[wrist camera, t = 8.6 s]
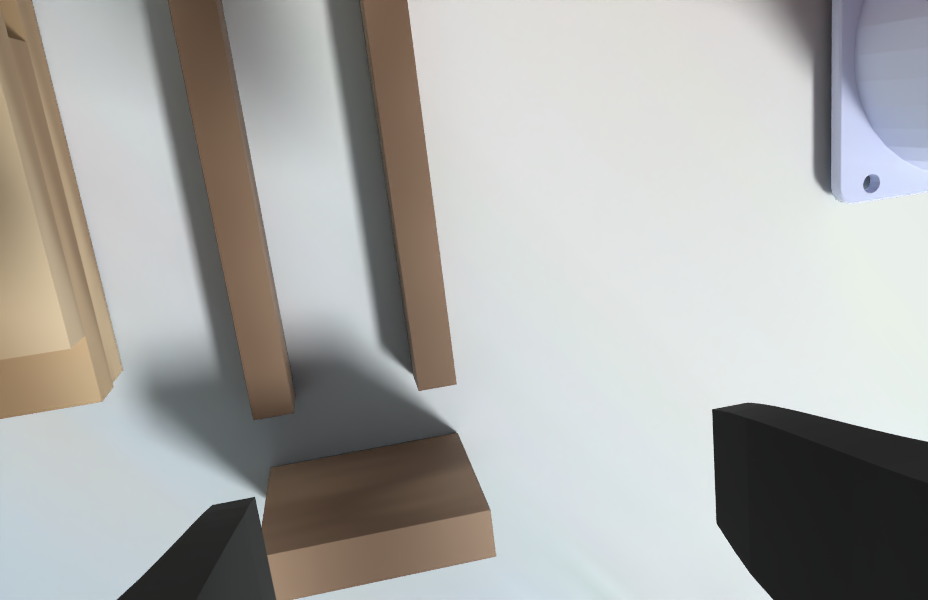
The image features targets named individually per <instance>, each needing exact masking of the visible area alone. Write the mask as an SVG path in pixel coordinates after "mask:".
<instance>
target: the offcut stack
mask: <svg viewBox="0 0 928 600" xmlns="http://www.w3.org/2000/svg"><path fill="white" fill-rule="evenodd" d="M122 371H123V368H122V364H121V360H120V356H119V352H118V348H117V344H116V340H115V336H114V332H113V328H112V324H111V319H110V315H109V311H108V307H107V303H106V299H105V295H104V291H103V287H102V283H101V279H100V275H99V271H98V267H97V263H96V259H95V255H94V251H93V246H92V242H91V238H90V234H89V230H88V226H87V222H86V218H85V214H84V210H83V206H82V202H81V198H80V194H79V190H78V186H77V182H76V177H75V173H74V169H73V165H72V161H71V157H70V153H69V149H68V145H67V141H66V137H65V133H64V129H63V125H62V121H61V117H60V113H59V109H58V104H57V100H56V96H55V92H54V88H53V84H52V80H51V76H50V72H49V68H48V64H47V60H46V56H45V52H44V48H43V44H42V40H41V36H40V31H39V27H38V23H37V19H36V15H35V11H34V7H33V3H32V0H0V419H3V418H9V417H15V416H21V415H27V414H33V413H38V412H44V411H50V410H56V409H62V408H68V407H74V406H80V405H86V404H92V403H98V402H102V401H103V400H104V399H105V397H106V396H107V395H108V393H109V392H110V391H111V390H112V388H113V382H114V381H115V379H116V378H117V377H118V376H119V374H120V373H121V372H122Z"/></svg>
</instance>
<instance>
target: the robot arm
mask: <svg viewBox="0 0 928 600" xmlns="http://www.w3.org/2000/svg"><path fill="white" fill-rule="evenodd" d="M867 176H869V177H870V185H869V187H868V188H867V189H866V190H864V188H863V183H864V180H865V178H866V177H867ZM831 189H832V194H833V196H834V197H835V199H836V200H838V201H840V202H843V203H851V204H855V203H862V202H868V201H875V200H881V199H888V198H894V197H901V196H907V195H914V194H920V193H927V192H928V0H832V110H831ZM712 415H713V442H714V468H715V495H716V521H717V525H718V526H719V528H720V529H721V531H722V533H723V534H724V536H725V537H726V539H727V540H728V542H729V543H730V545H731V546H732V548H733V550H734V551H735V552H736V554H737V555H738V557H739V558H740V560H741V561H742V562H743V564H744V565H745V567H746V568H747V570H748V571H749V572H750V574H751V575H752V576H753V577H754V578H755V579H756V581H757V582H758V583H759V584H760V585H761V586H762V588H763V589H764V590H765V591H766V592H767V593H768V594H769V595H770V596H771V598H772V599H773V600H928V442H926V441H921V440H916V439H911V438H907V437H902V436H898V435H894V434H889V433H885V432H881V431H876V430H872V429H868V428H864V427H860V426H856V425H852V424H848V423H844V422H840V421H836V420H832V419H827V418H823V417H819V416H815V415H811V414H807V413H803V412H799V411H794V410H790V409H785V408H781V407H776V406H770V405H764V404H756V403H743V404H738V405H733V406H728V407H723V408H717V409H712ZM117 600H276V596H275V591H274V586H273V581H272V577H271V572H270V567H269V562H268V557H267V553H266V548H265V543H264V538H263V533H262V529H261V524H260V519H259V514H258V510H257V505H256V500H255V497H252V498H247V499H242V500H237V501H231V502H226V503H221V504H216V505H212V506H211V507H210V508H209V509H207V510H206V511H205V512H204V513H203V514H202V515H201V516H200V517H199V518H198V519H197V520H196V521H195V522H194V523H193V524H192V525H191V526H190V527H189V529H188V530H187V531H186V532H185V533H184V534H183V535H182V536H181V537H180V538H179V539H178V540H177V541H176V542H175V543H174V544H173V545H172V546H171V547H170V548H169V549H168V550H167V551H166V552H165V553H164V555H163V556H162V557H161V558H160V559H159V560H158V561H157V562H156V563H155V564H154V565H153V566H152V567H151V568H150V569H149V570H148V571H147V572H146V573H145V574H144V575H143V576H142V577H141V578H140V579H139V580H138V581H137V582H136V583H134V584H133V585H132V586H131V587H130V588H129V589H128V590H127V591H126V592H125V593H124V594H123V595H121V596H120V597H119V598H118V599H117Z"/></svg>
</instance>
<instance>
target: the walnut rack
mask: <svg viewBox="0 0 928 600" xmlns="http://www.w3.org/2000/svg"><path fill="white" fill-rule="evenodd" d="M168 3H169V8H170V13H171V18H172V23H173V27H174V32H175V37H176V42H177V47H178V52H179V57H180V62H181V67H182V72H183V77H184V81H185V86H186V91H187V96H188V101H189V106H190V111H191V116H192V121H193V126H194V131H195V135H196V140H197V145H198V150H199V155H200V160H201V165H202V170H203V175H204V180H205V184H206V189H207V194H208V199H209V204H210V209H211V214H212V219H213V224H214V229H215V234H216V238H217V243H218V248H219V253H220V258H221V263H222V268H223V273H224V278H225V283H226V288H227V292H228V297H229V302H230V307H231V312H232V317H233V322H234V327H235V332H236V337H237V342H238V346H239V351H240V356H241V361H242V366H243V371H244V376H245V381H246V386H247V391H248V395H249V400H250V405H251V410H252V415H253V420H258V419H263V418H269V417H275V416H280V415H286V414H292V413H294V406H295V391H294V386H293V380H292V375H291V370H290V364H289V359H288V354H287V348H286V343H285V338H284V332H283V327H282V322H281V316H280V311H279V306H278V300H277V295H276V290H275V284H274V279H273V274H272V268H271V263H270V257H269V252H268V247H267V241H266V236H265V231H264V225H263V220H262V215H261V209H260V204H259V199H258V193H257V188H256V183H255V177H254V172H253V167H252V161H251V156H250V151H249V145H248V140H247V135H246V129H245V124H244V118H243V113H242V108H241V102H240V97H239V92H238V86H237V81H236V76H235V70H234V65H233V60H232V54H231V49H230V44H229V38H228V33H227V28H226V22H225V17H224V12H223V6H222V1H221V0H168ZM360 7H361V14H362V21H363V28H364V35H365V42H366V49H367V56H368V63H369V70H370V77H371V84H372V91H373V98H374V105H375V112H376V119H377V126H378V133H379V140H380V147H381V153H382V160H383V167H384V174H385V181H386V188H387V195H388V202H389V209H390V216H391V223H392V230H393V237H394V244H395V251H396V258H397V265H398V272H399V279H400V286H401V293H402V300H403V307H404V314H405V321H406V327H407V334H408V341H409V348H410V355H411V362H412V369H413V376H414V379H415V382H416V385H417V387H418V390H419V391H422V390H427V389H433V388H439V387H444V386H450V385H455V384H456V376H455V368H454V360H453V353H452V345H451V337H450V329H449V321H448V314H447V306H446V298H445V290H444V283H443V275H442V267H441V259H440V252H439V244H438V236H437V228H436V221H435V213H434V205H433V197H432V189H431V182H430V174H429V166H428V158H427V151H426V143H425V135H424V127H423V120H422V112H421V104H420V96H419V88H418V81H417V73H416V65H415V57H414V50H413V42H412V34H411V26H410V19H409V11H408V3H407V0H360ZM261 529H262V533H263V538H264V543H265V548H266V553H267V557H268V562H269V567H270V572H271V577H272V581H273V586H274V591H275V596H276V600H293V599H298V598H302V597H307V596H312V595H317V594H321V593H326V592H331V591H335V590H340V589H345V588H350V587H354V586H359V585H364V584H368V583H373V582H378V581H383V580H387V579H392V578H397V577H401V576H406V575H411V574H416V573H420V572H425V571H430V570H435V569H439V568H444V567H449V566H453V565H458V564H463V563H468V562H472V561H477V560H482V559H486V558H491V557H496V552H495V543H494V535H493V527H492V519H491V511H490V508H489V506H488V503H487V501H486V498H485V496H484V494H483V491H482V489H481V487H480V484H479V482H478V480H477V477H476V475H475V473H474V470H473V468H472V466H471V463H470V461H469V459H468V456H467V454H466V452H465V449H464V447H463V445H462V442H461V440H460V437H459V435H458V433H454V434H449V435H443V436H438V437H433V438H427V439H422V440H416V441H411V442H406V443H400V444H395V445H390V446H384V447H379V448H374V449H368V450H363V451H357V452H352V453H347V454H341V455H336V456H331V457H325V458H320V459H315V460H309V461H304V462H298V463H293V464H288V465H282V466H277V467H272V468H270V475H269V481H268V488H267V494H266V501H265V508H264V514H263V521H262V528H261Z"/></svg>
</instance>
